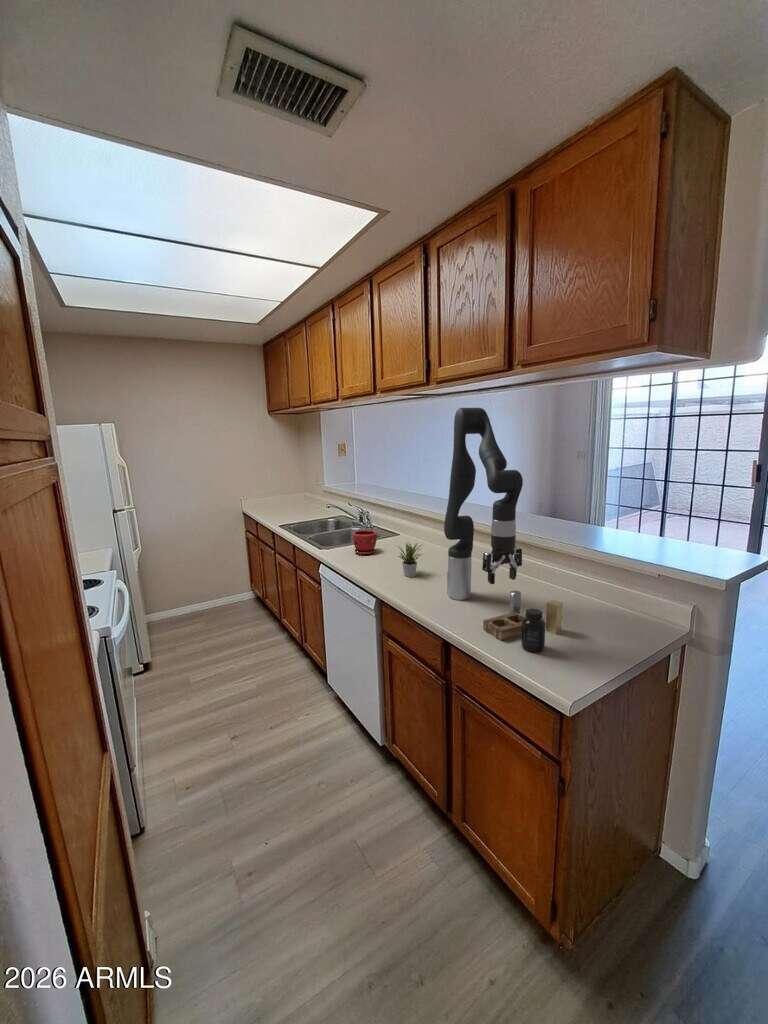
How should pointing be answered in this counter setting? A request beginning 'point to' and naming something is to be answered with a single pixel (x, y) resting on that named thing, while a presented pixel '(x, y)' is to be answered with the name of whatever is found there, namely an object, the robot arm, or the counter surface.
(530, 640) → the supplement bottle
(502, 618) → the bore block
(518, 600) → the cylinder
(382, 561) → the counter surface
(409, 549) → the house plant
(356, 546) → the plant pot
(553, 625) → the square bit
